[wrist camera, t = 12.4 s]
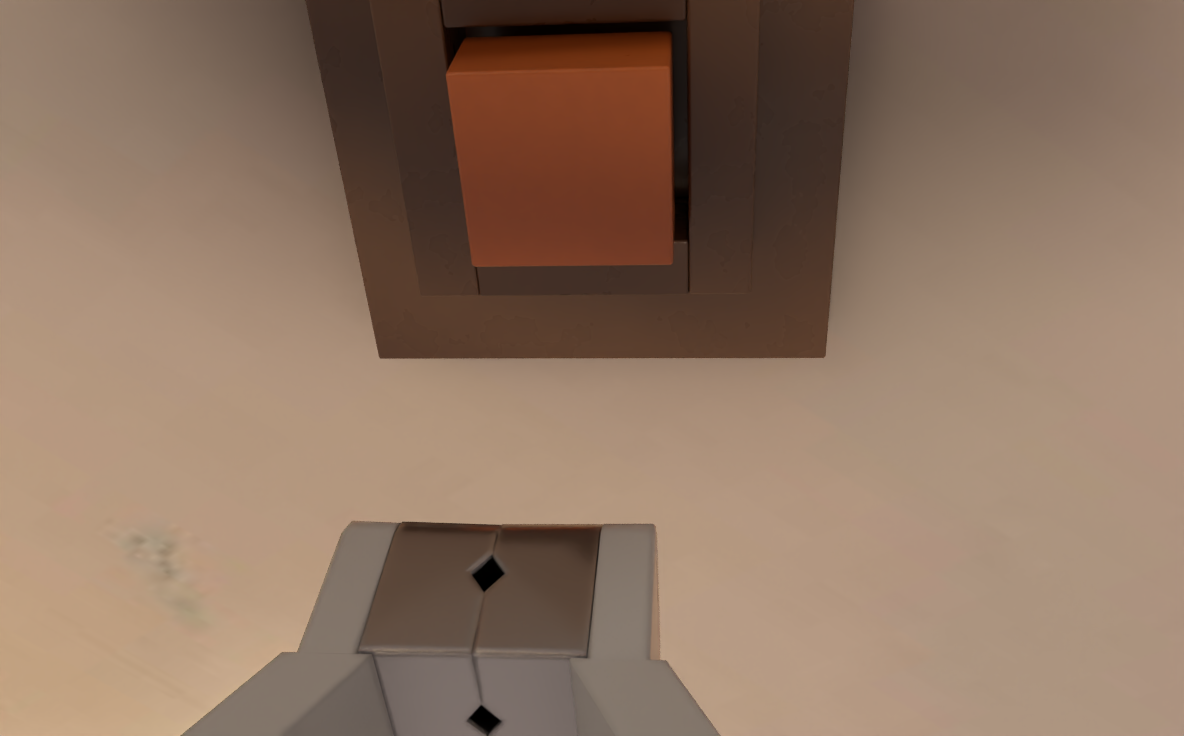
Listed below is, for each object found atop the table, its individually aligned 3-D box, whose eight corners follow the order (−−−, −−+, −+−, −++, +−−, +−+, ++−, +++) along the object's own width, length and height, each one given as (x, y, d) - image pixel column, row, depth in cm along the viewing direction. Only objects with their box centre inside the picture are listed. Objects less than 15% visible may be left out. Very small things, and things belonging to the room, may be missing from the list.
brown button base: (278, -249, 19) (215, -226, 16) (867, -284, 18) (894, -264, 15) (391, 330, 26) (358, 407, 23) (820, 328, 25) (834, 408, 22)
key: (463, 36, 19) (444, 73, 17) (672, 29, 18) (669, 66, 17) (486, 222, 21) (471, 268, 19) (675, 219, 21) (673, 266, 19)
